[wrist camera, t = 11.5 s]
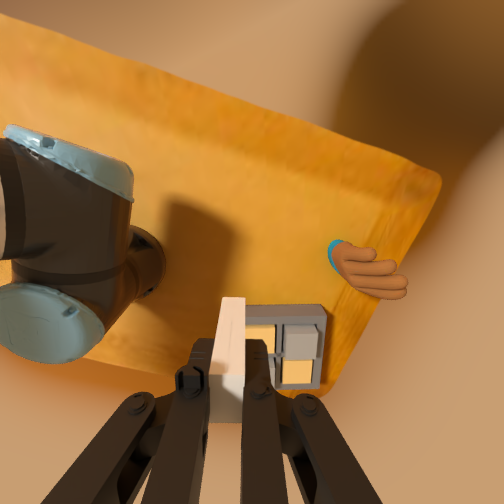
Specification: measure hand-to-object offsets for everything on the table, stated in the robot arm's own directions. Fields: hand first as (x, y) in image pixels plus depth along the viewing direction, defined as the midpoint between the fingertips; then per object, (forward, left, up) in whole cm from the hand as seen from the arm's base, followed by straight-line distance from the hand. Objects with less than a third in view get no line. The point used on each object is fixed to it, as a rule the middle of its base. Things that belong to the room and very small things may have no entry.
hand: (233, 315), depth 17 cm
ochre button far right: (+11, -31, -31) cm, 46 cm away
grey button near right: (+11, -23, -29) cm, 39 cm away
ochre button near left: (+3, -23, -31) cm, 39 cm away
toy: (+21, -8, -32) cm, 40 cm away
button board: (+7, -27, -32) cm, 43 cm away
